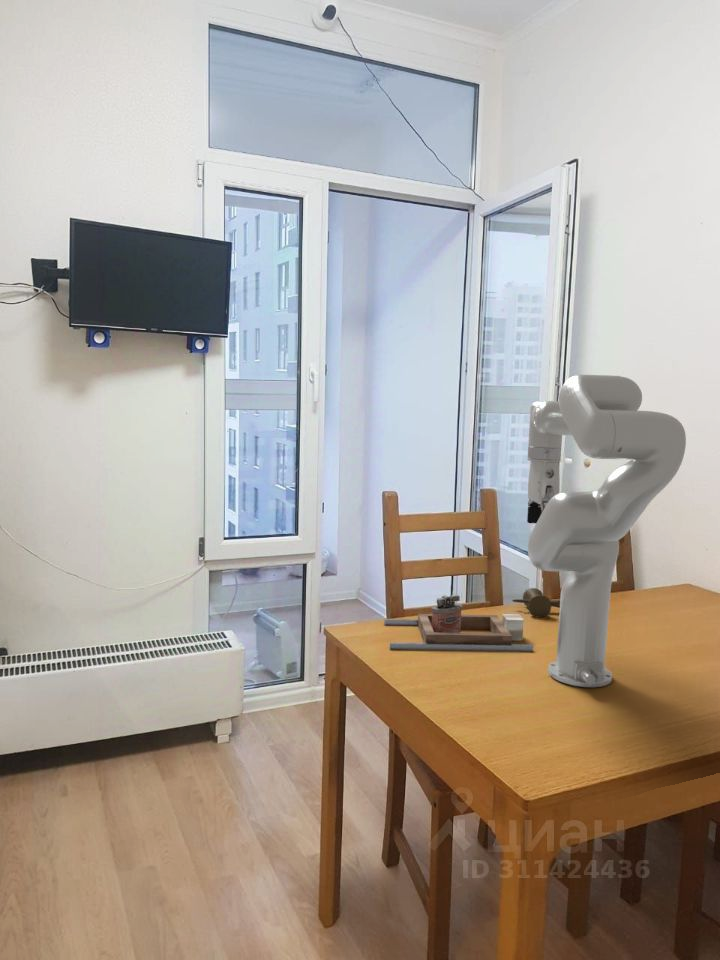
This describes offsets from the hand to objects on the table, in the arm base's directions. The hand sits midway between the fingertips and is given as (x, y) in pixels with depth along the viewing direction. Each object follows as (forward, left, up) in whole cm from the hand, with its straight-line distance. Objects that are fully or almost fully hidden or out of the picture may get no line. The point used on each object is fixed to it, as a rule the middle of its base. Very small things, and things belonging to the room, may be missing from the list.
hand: (539, 526), depth 170 cm
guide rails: (-4, +20, -26) cm, 33 cm away
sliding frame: (-4, +16, -26) cm, 31 cm away
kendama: (+18, -9, -27) cm, 33 cm away
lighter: (-4, +22, -26) cm, 34 cm away
